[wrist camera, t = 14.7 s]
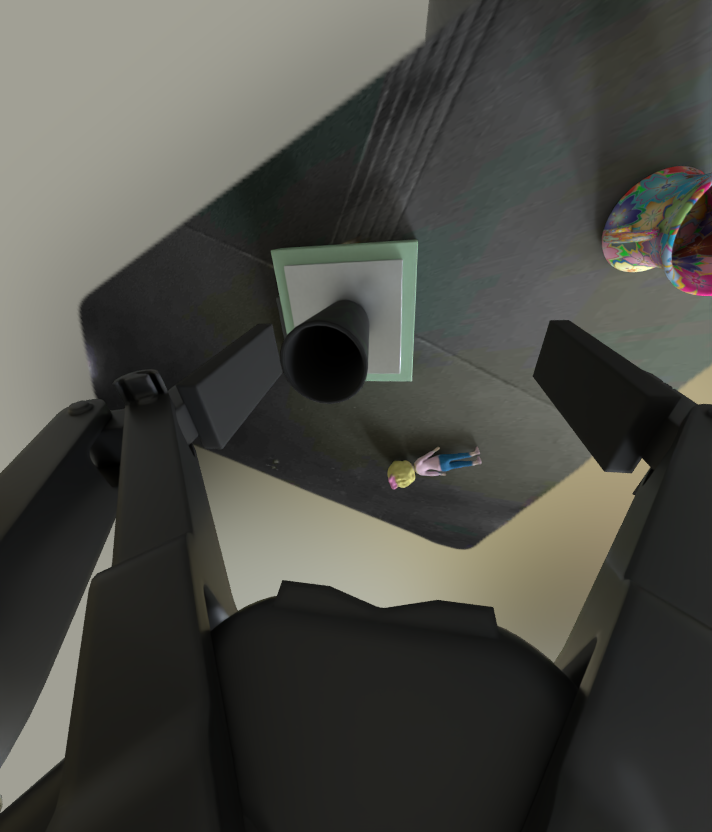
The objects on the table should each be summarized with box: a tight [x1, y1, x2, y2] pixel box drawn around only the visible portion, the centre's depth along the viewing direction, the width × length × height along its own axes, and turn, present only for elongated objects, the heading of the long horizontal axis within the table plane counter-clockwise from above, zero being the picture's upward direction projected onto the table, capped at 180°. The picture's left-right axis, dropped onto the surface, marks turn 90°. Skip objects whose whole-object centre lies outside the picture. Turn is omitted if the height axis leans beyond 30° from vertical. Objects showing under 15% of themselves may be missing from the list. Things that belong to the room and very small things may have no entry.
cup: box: [280, 300, 370, 404], centre depth 30 cm, size 8×8×12 cm
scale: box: [271, 239, 418, 381], centre depth 37 cm, size 16×17×3 cm
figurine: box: [388, 447, 482, 489], centre depth 48 cm, size 6×4×15 cm
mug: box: [602, 166, 712, 296], centre depth 25 cm, size 12×9×11 cm
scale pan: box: [284, 259, 403, 374], centre depth 35 cm, size 13×13×1 cm
